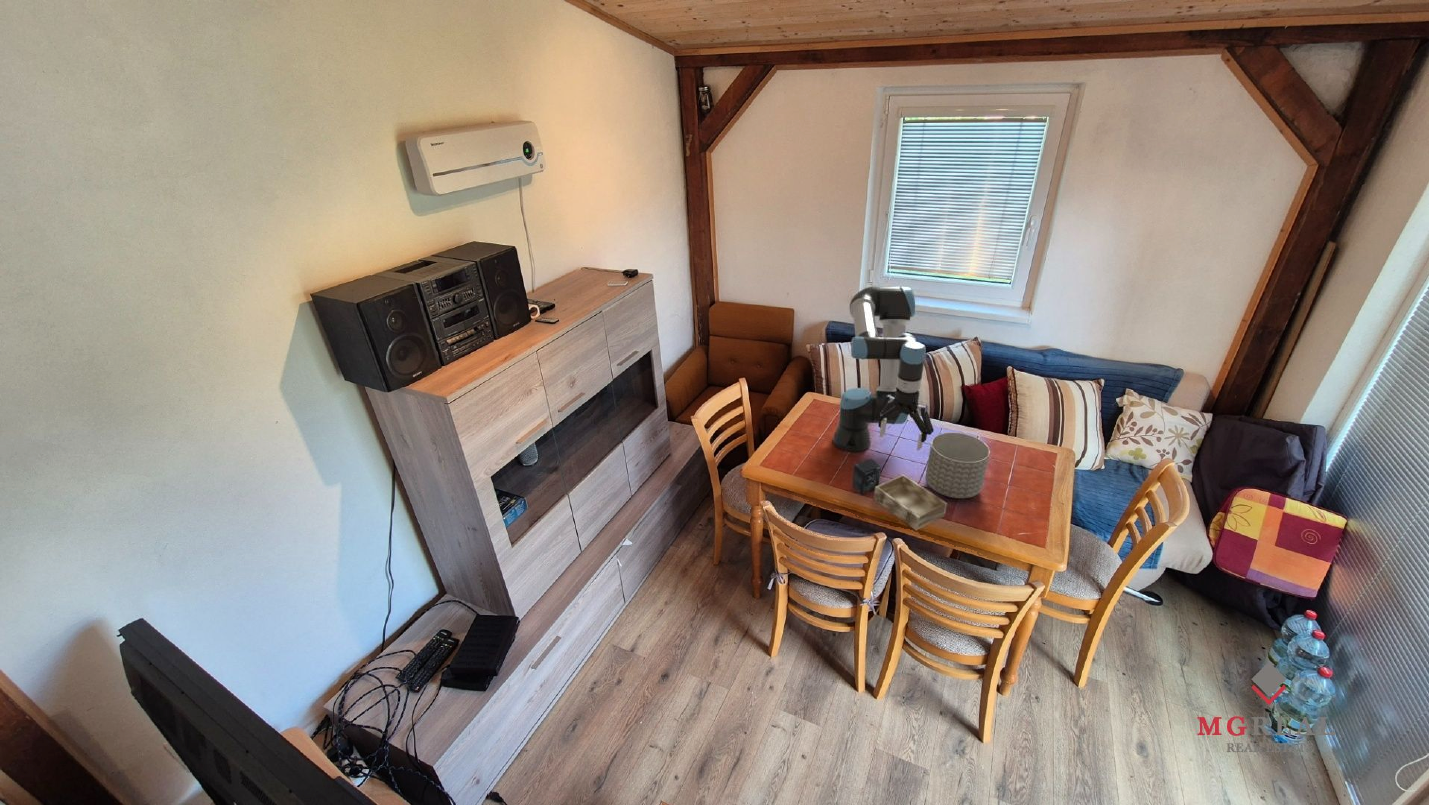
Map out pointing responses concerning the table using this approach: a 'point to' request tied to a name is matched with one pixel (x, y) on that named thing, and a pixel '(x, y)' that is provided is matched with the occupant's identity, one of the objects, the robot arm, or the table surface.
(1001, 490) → the table surface
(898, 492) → the crate
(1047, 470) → the table surface
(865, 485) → the box
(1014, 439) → the table surface
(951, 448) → the planter
